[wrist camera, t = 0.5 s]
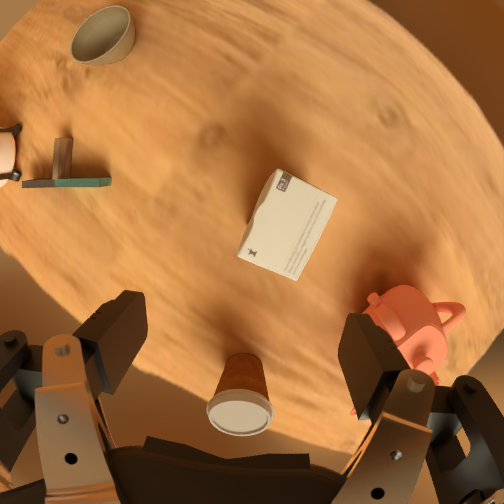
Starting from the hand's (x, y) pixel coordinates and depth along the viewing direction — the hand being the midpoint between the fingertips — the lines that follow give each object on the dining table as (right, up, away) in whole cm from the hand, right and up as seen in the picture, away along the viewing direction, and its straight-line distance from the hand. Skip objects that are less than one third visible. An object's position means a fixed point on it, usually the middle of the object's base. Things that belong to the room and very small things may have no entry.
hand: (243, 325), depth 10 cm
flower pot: (-20, +34, +19) cm, 44 cm away
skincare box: (+4, +9, +26) cm, 28 cm away
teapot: (+23, -10, +31) cm, 40 cm away
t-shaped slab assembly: (-29, +18, +24) cm, 42 cm away
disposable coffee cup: (-1, -17, +34) cm, 38 cm away
